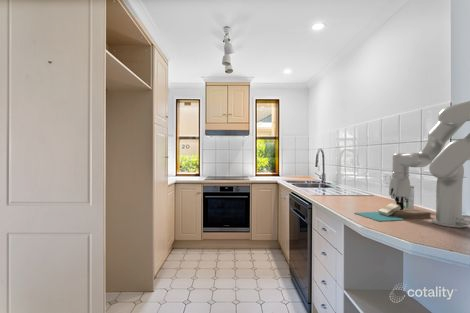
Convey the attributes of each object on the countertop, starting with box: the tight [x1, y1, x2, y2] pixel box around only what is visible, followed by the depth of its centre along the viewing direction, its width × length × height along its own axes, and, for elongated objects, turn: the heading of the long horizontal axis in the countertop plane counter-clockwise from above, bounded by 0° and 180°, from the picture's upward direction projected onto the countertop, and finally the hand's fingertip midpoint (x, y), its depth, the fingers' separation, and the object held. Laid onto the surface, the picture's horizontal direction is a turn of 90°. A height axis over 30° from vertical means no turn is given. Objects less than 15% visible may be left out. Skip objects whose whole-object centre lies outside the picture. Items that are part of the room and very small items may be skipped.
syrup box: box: [404, 185, 415, 209], centre depth 161 cm, size 6×6×14 cm
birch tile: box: [377, 202, 401, 216], centre depth 140 cm, size 9×6×2 cm, turn 101°
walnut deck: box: [391, 208, 432, 220], centre depth 141 cm, size 14×18×2 cm
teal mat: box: [354, 211, 406, 222], centre depth 137 cm, size 18×16×1 cm
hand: (399, 209), depth 141 cm, fingers closed
